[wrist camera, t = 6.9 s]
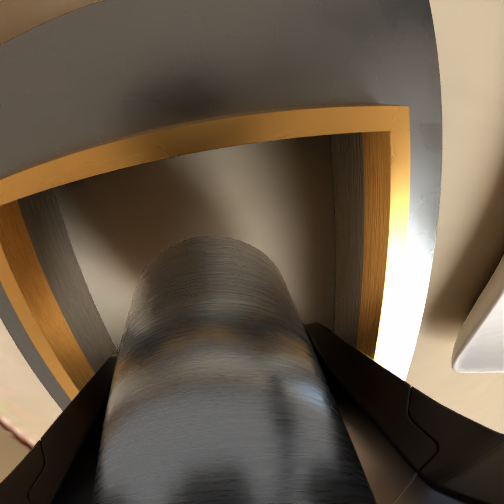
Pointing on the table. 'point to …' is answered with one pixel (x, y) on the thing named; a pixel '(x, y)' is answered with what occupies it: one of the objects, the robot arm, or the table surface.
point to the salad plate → (483, 331)
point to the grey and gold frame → (219, 136)
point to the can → (221, 391)
